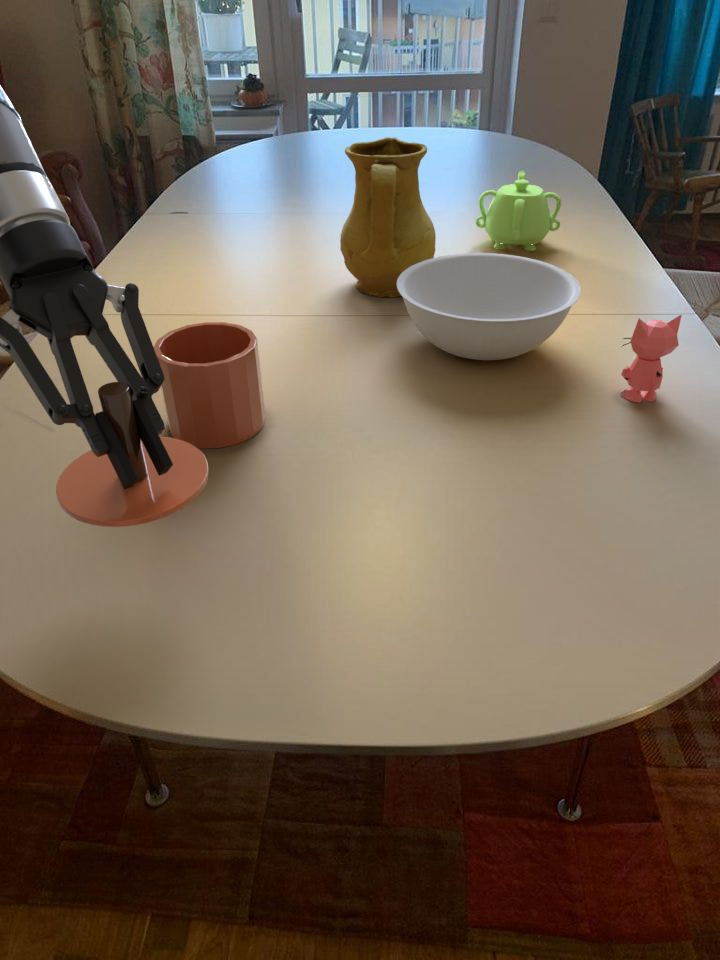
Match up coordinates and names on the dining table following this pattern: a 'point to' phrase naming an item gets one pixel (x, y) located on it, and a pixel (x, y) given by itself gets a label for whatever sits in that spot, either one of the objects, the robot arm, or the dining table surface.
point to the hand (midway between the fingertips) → (148, 476)
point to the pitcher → (386, 215)
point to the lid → (97, 489)
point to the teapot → (518, 214)
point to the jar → (211, 383)
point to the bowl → (487, 303)
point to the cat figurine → (649, 357)
